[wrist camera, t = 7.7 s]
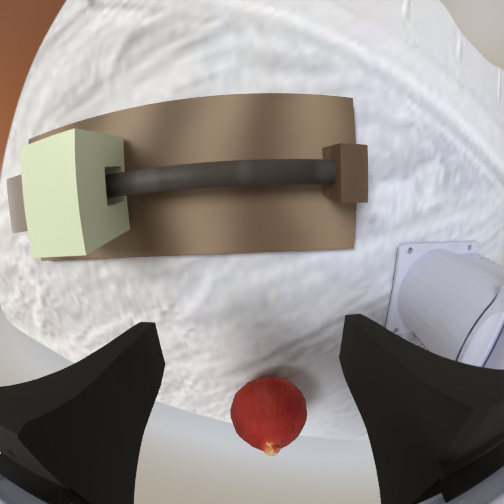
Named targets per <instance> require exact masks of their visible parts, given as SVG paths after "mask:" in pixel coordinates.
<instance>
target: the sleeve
mask: <svg viewBox="0 0 504 504" xmlns="http://www.w3.org/2000/svg"><path fill="white" fill-rule="evenodd" d="M118 172H125V166H124V142H123V137H119V136H114V135H109V134H104V133H99V132H93V131H88V130H82V129H76V128H74V129H71V130H67V131H64V132H61V133H58V134H55V135H52V136H50V137H47V138H44V139H41V140H39V141H36V142H33V143H31V144H28V145H26V146H23V147H21V173H22V188H23V199H24V208H25V216H26V223H27V229H28V235H29V241H30V246H31V251H32V256H33V258H42V257H63V256H84V255H88V254H89V253H91V252H93V251H94V250H96V249H98V248H99V247H101V246H103V245H104V244H106V243H108V242H109V241H111V240H113V239H114V238H116V237H118V236H120V235H121V234H123V233H125V232H127V231H128V230H130V223H129V214H128V205H127V196H119V197H111V198H107V194H106V182H105V175H106V174H112V173H118Z"/></svg>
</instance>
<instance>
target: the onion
mask: <svg viewBox="0 0 504 504" xmlns="http://www.w3.org/2000/svg"><path fill="white" fill-rule="evenodd" d="M230 411H231V419H232V422H233V425H234V427H235V430H236V432H237V434H238V435H239V436H240V437H241V438H242V439H243V440H244V441H246V442H247V443H249V444H250V445H251V446H252V447H255V448H257V449H260V450H262V451H264V452H265V453H266V454H267V455H270V456H274V455H276V454H277V453H278V452H279V451H280V449H281V448H283V447H285V446H287V445H289V444H290V443H291V442H292V441H294V440H295V439H296V438H297V437H298V435H299V434H300V432H301V431H302V429H303V427H304V425H305V422H306V419H307V410H306V403H305V399H304V396H303V394H302V392H301V391H300V390H299V389H298V388H297V387H296V386H295V385H294V384H293V383H291V382H290V381H287V380H285V379H283V378H277V377H271V376H269V377H262V378H259V379H256V380H253V381H251V382H248V383H247V384H246V385H245V386H243V387H242V388H241V389H240V390H239V391H238V392H237V393H236V394H235V397H234V399H233V403H232V406H231V410H230Z"/></svg>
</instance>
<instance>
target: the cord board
mask: <svg viewBox="0 0 504 504" xmlns="http://www.w3.org/2000/svg"><path fill="white" fill-rule="evenodd" d="M74 128H76V129H82V130H88V131H93V132H99V133H104V134H109V135H114V136H119V137H123V142H124V166H125V172H118V173H112V174H106V175H105V182H106V194H107V198H111V197H119V196H127V205H128V214H129V223H130V230H128V231H127V232H125V233H123V234H121V235H120V236H118V237H116V238H114V239H113V240H111V241H109V242H108V243H106V244H104V245H103V246H101V247H99V248H98V249H96V250H94V251H93V252H91V253H89V254H88V255H84V256H63V257H42V258H41V261H47V260H73V259H98V258H123V257H149V256H174V255H199V254H224V253H249V252H274V251H299V250H323V249H348V248H354V239H355V218H356V202H366V203H368V151H367V145H360V144H356V143H355V123H354V108H353V98H347V97H338V96H326V95H311V94H285V93H260V94H233V95H218V96H207V97H197V98H189V99H181V100H174V101H167V102H161V103H155V104H149V105H144V106H139V107H134V108H129V109H125V110H120V111H116V112H112V113H108V114H104V115H100V116H96V117H93V118H89V119H86V120H82V121H79V122H76V123H73V124H70V125H66V126H63V127H61V128H58V129H55V130H52V131H49V132H47V133H44V134H41V135H39V136H36V137H34V138H31V139H29V144H31V143H33V142H36V141H39V140H41V139H44V138H47V137H50V136H52V135H55V134H58V133H61V132H64V131H67V130H71V129H74ZM7 190H8V201H9V210H10V217H11V224H12V231H13V233H16V232H23V231H28V229H27V223H26V216H25V208H24V199H23V188H22V174H21V175H18V176H15V177H12V178H10V179H7Z"/></svg>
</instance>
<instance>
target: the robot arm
mask: <svg viewBox="0 0 504 504" xmlns="http://www.w3.org/2000/svg"><path fill="white" fill-rule="evenodd" d="M468 246H469V247H468ZM409 248H410V251H409V252H408V249H409ZM478 250H479V243H478V242H476V241H456V242H427V243H403V244H401V245H400V246H399V247H398V251H397V259H396V267H395V275H394V281H393V288H392V294H391V300H390V305H389V311H388V316H387V321H386V326H385V328H384V327H383V326H381V325H379V324H378V323H376V322H374V321H373V320H371V319H369V318H367V317H366V316H364V315H362V314H354V315H345V322H344V329H343V336H342V343H341V349H340V355H339V359H340V363H341V367H342V370H343V374H344V377H345V380H346V382H347V384H348V387H349V389H350V391H351V394H352V396H353V398H354V400H355V403H356V405H357V407H358V409H359V412H360V414H361V416H362V419H363V421H364V424H365V426H366V429H367V433H368V436H369V440H370V444H371V447H372V452H373V456H374V460H375V465H376V470H377V476H378V482H379V488H380V497H381V504H504V266H502V265H500V264H498V263H496V262H494V261H492V260H490V259H488V258H486V257H484V256H482V255H480V254H478ZM394 329H396V330H395V331H394ZM410 332H413V333H414V334H415V335H416V336H417V337H418V338H419V339H420V341H421V342H422V343H423V344H424V345H425V346H426V347H427V349H428V350H429V351H427V350H425V349H423V348H421V347H419V346H417V345H415V344H413V343H411V342H409V341H407V340H405V339H403V338H401V337H400V336H398V335H400V334H405V333H410ZM164 367H165V361H164V358H163V354H162V350H161V346H160V342H159V338H158V334H157V329H156V325H155V323H152V322H140V323H138V324H136V325H135V326H133V327H132V328H130V329H128V330H127V331H126V332H124V333H123V334H121V335H120V336H118V337H117V338H115V339H114V340H112V341H111V342H109V343H108V344H106V345H105V346H103V347H102V348H100V349H99V350H97V351H95V352H94V353H92V354H91V355H89V356H87V357H86V358H84V359H82V360H80V361H79V362H77V363H75V364H73V365H71V366H69V367H67V368H64V369H62V370H60V371H58V372H55V373H53V374H50V375H47V376H44V377H42V378H39V379H36V380H32V381H29V382H25V383H21V384H16V385H11V386H4V387H0V452H1V454H0V504H134V490H135V478H136V470H137V464H138V457H139V452H140V447H141V442H142V437H143V434H144V430H145V427H146V424H147V421H148V419H149V416H150V413H151V411H152V408H153V405H154V402H155V400H156V397H157V394H158V391H159V389H160V386H161V382H162V377H163V373H164Z"/></svg>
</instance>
